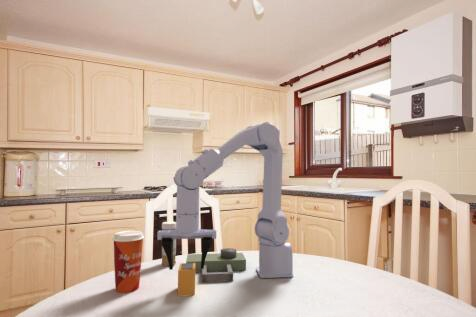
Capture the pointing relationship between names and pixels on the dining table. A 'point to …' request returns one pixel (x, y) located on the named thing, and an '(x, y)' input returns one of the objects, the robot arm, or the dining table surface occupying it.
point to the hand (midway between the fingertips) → (186, 267)
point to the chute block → (186, 279)
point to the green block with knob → (218, 264)
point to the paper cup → (127, 260)
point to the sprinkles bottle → (173, 227)
